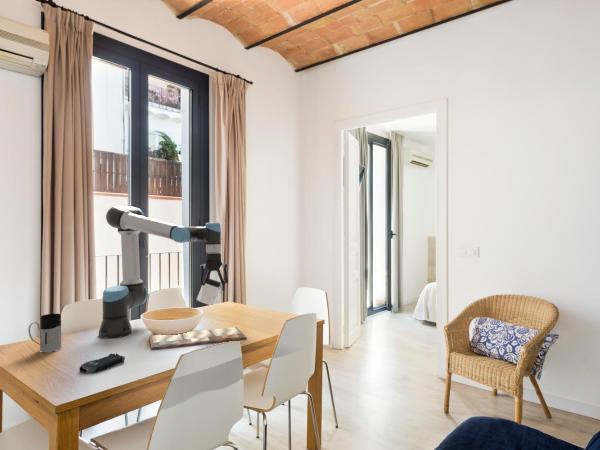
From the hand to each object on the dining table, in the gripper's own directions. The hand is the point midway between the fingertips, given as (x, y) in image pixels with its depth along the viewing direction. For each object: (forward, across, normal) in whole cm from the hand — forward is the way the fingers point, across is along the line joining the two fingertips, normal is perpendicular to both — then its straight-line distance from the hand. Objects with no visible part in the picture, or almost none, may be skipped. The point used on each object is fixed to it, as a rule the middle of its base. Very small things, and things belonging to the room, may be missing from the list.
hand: (214, 297), depth 202 cm
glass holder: (+17, -74, -3) cm, 76 cm away
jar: (+2, -5, 0) cm, 5 cm away
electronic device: (+18, -50, -33) cm, 63 cm away
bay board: (+18, -10, -8) cm, 22 cm away
